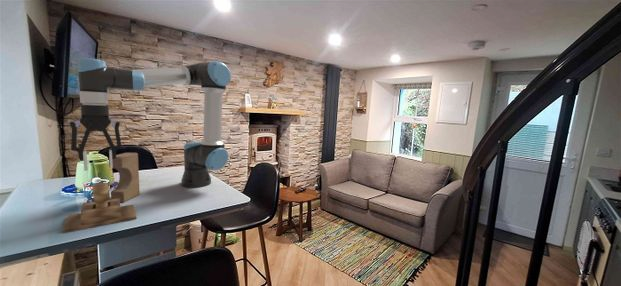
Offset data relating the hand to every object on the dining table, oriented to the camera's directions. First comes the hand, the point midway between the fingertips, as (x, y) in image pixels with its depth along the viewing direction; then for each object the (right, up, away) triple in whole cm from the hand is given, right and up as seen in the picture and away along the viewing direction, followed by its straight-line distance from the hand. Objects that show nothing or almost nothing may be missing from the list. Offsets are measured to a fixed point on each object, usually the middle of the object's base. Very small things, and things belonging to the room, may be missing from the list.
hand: (99, 168), depth 93 cm
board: (-1, -19, +3) cm, 19 cm away
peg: (-1, -18, +2) cm, 18 cm away
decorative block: (-7, -16, +23) cm, 29 cm away
